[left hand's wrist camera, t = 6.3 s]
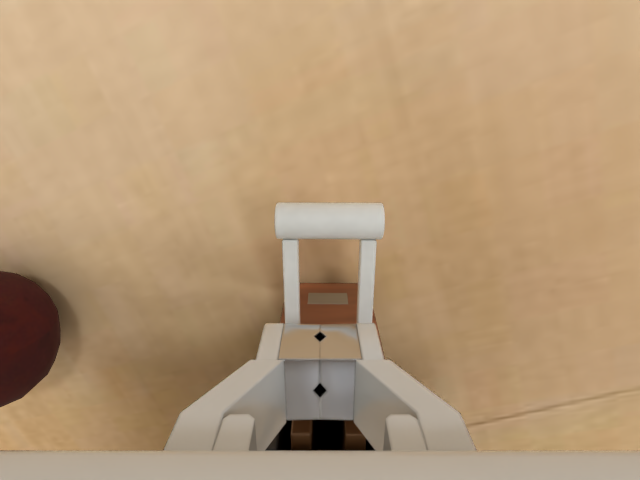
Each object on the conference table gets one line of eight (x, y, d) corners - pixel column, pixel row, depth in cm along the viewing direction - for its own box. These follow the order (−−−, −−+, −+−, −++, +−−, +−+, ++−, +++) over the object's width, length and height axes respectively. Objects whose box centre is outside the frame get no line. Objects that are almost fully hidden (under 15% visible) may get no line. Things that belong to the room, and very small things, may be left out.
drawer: (284, 177, 19) (257, 228, 11) (372, 177, 19) (404, 228, 11) (294, 495, 27) (282, 649, 19) (357, 496, 27) (369, 651, 19)
